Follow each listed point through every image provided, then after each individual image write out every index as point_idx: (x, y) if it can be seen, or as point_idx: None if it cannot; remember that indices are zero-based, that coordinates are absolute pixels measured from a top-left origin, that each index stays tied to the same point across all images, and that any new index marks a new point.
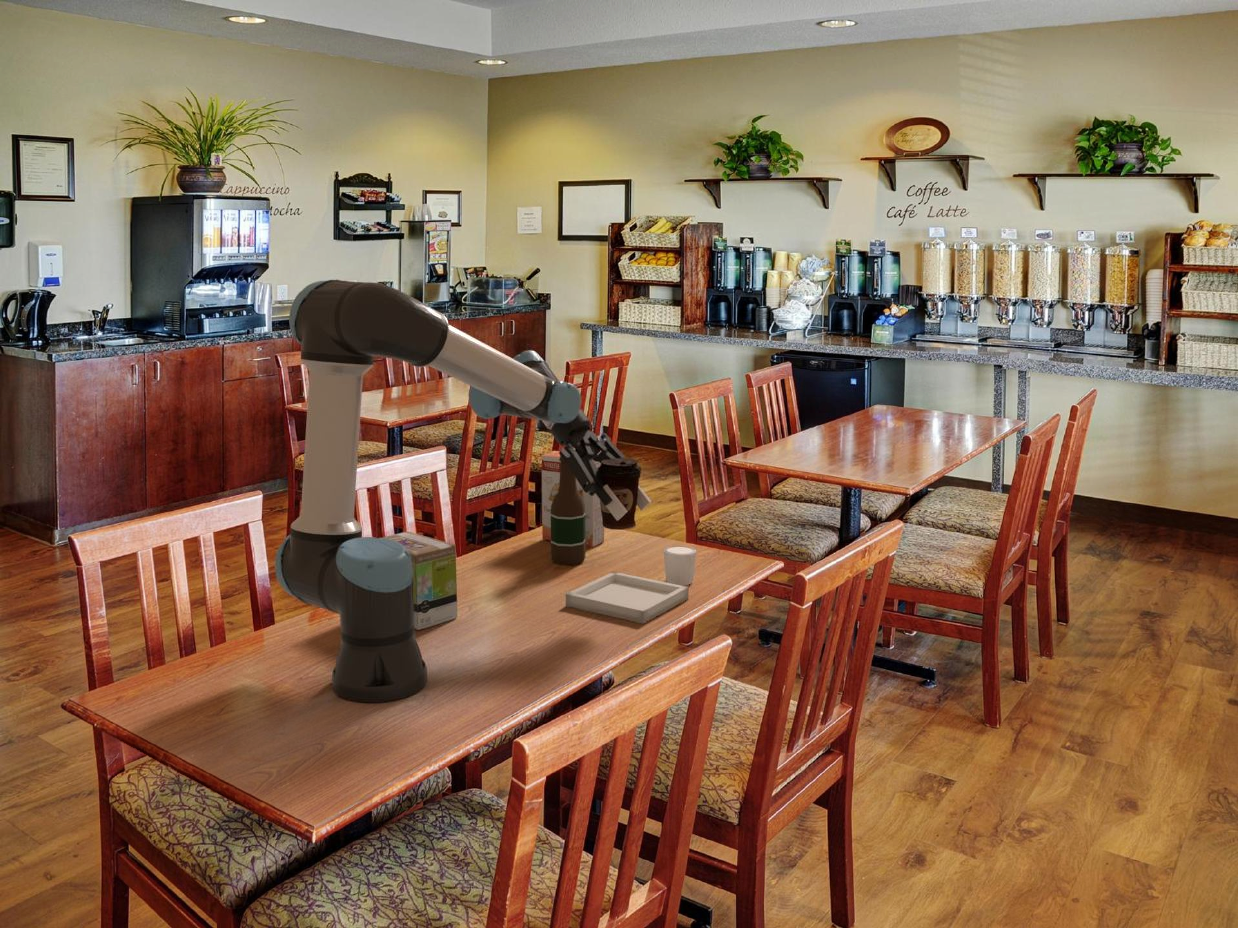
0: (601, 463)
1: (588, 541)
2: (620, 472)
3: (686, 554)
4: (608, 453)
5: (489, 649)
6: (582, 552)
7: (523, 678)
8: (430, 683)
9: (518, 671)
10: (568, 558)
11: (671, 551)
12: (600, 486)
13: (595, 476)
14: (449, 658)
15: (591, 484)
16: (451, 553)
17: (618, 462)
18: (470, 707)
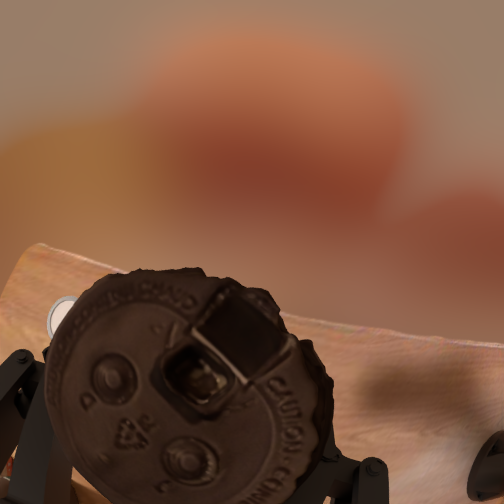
0: None
1: (7, 462)
2: (311, 353)
3: None
4: (19, 490)
5: (420, 461)
6: None
7: (461, 383)
8: (485, 439)
9: (452, 398)
10: (70, 494)
11: None
12: (332, 448)
13: (327, 493)
14: (446, 471)
15: (384, 466)
16: None
17: (162, 415)
18: (501, 380)
